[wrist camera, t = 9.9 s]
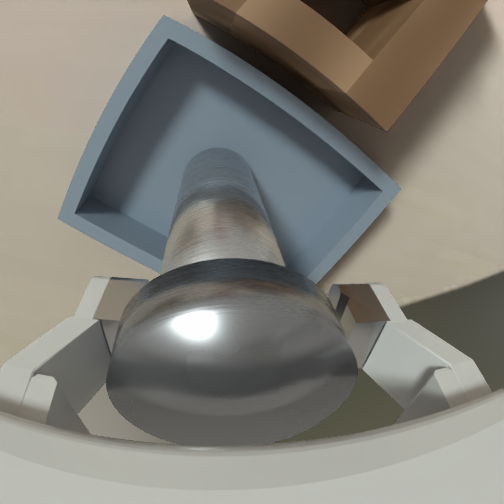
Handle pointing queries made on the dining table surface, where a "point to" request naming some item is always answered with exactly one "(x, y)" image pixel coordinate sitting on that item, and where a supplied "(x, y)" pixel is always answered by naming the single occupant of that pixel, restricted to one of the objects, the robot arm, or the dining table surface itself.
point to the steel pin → (227, 326)
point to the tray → (219, 136)
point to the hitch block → (350, 47)
